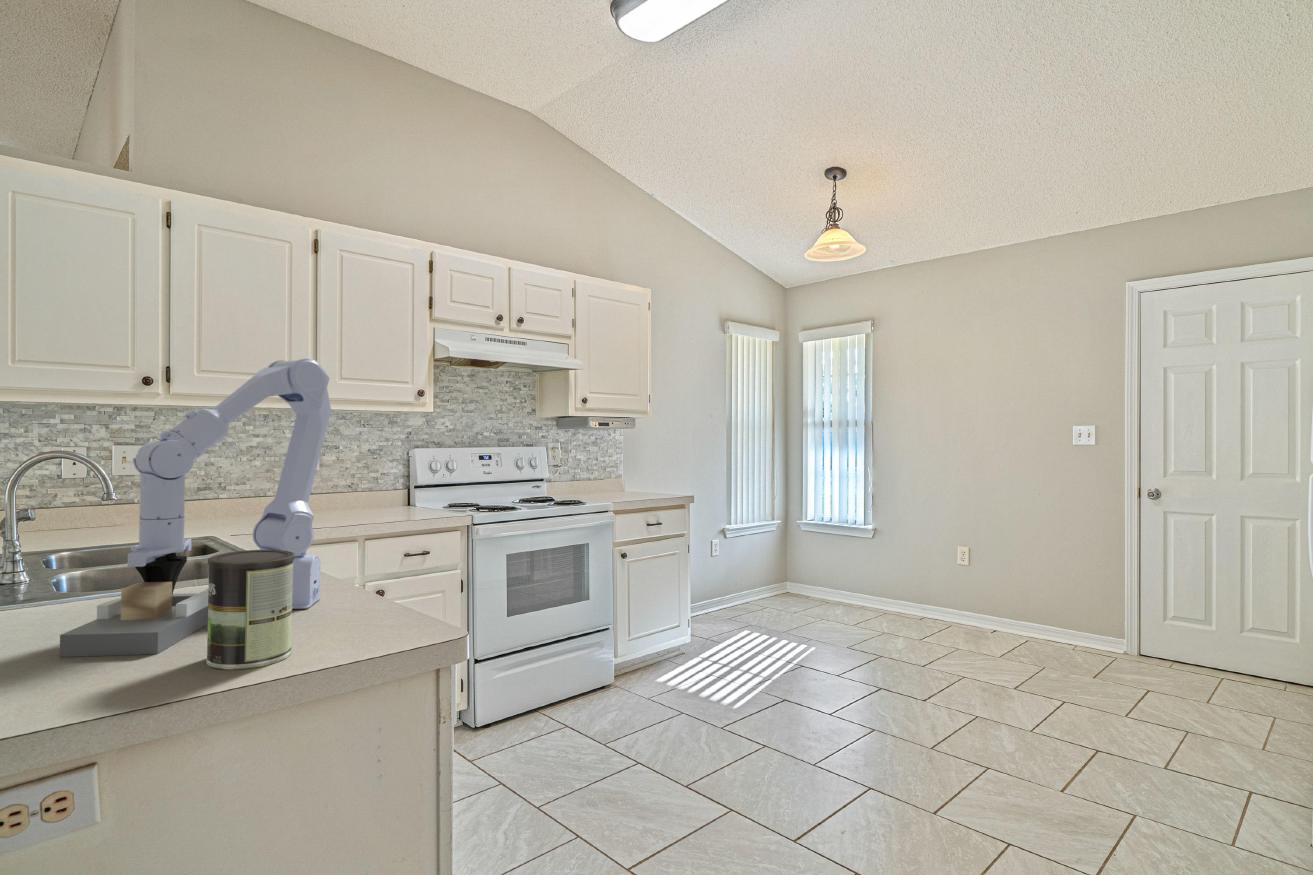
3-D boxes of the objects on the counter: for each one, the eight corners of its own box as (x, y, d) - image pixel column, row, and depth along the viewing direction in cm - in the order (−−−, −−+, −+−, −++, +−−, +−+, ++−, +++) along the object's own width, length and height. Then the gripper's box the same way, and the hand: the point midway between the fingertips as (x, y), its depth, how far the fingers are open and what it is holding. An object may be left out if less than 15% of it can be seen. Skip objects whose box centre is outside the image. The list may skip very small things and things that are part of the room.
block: (171, 611, 107) (172, 581, 107) (155, 619, 102) (156, 588, 102) (138, 612, 106) (139, 582, 106) (120, 620, 101) (121, 589, 101)
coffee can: (198, 674, 89) (200, 564, 88) (214, 650, 98) (215, 551, 98) (289, 665, 93) (291, 560, 93) (295, 643, 102) (297, 547, 102)
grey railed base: (232, 609, 120) (232, 581, 120) (157, 653, 96) (158, 617, 96) (155, 611, 118) (155, 582, 118) (59, 657, 94) (60, 620, 94)
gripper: (158, 512, 114) (157, 594, 114) (104, 523, 100) (103, 617, 100) (205, 512, 116) (204, 593, 116) (158, 523, 101) (157, 616, 101)
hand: (160, 604), depth 108 cm, fingers closed
